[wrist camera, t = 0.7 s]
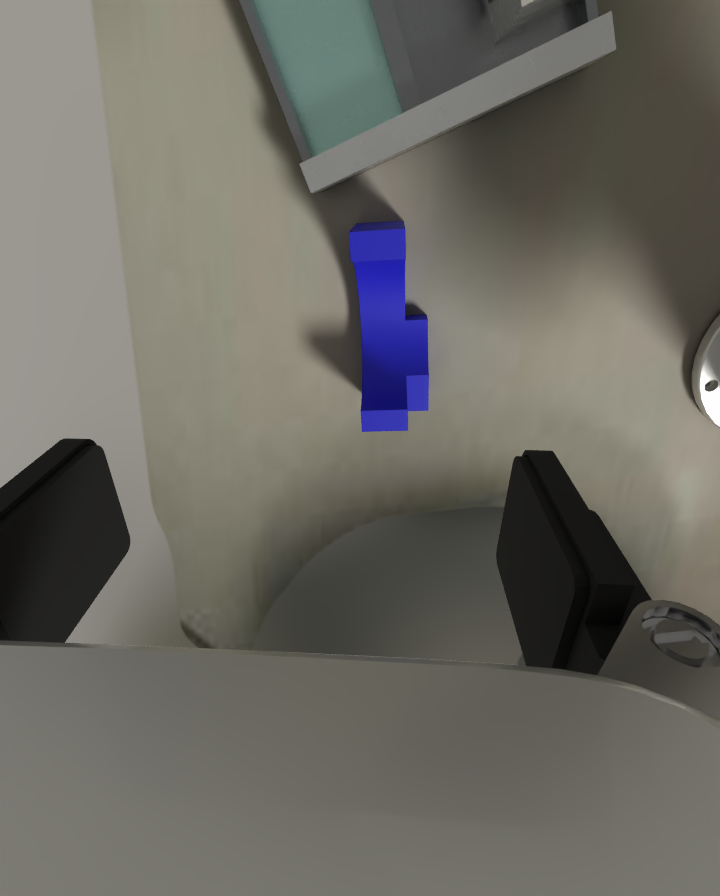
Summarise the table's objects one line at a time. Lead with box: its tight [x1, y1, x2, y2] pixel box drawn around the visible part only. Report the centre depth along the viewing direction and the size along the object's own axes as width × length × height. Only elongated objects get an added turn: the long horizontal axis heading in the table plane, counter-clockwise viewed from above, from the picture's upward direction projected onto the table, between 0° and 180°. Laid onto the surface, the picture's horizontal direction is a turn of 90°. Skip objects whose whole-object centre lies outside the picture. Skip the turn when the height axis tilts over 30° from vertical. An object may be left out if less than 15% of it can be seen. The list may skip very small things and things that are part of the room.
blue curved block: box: [349, 221, 429, 432], centre depth 31 cm, size 12×4×6 cm, turn 3°
